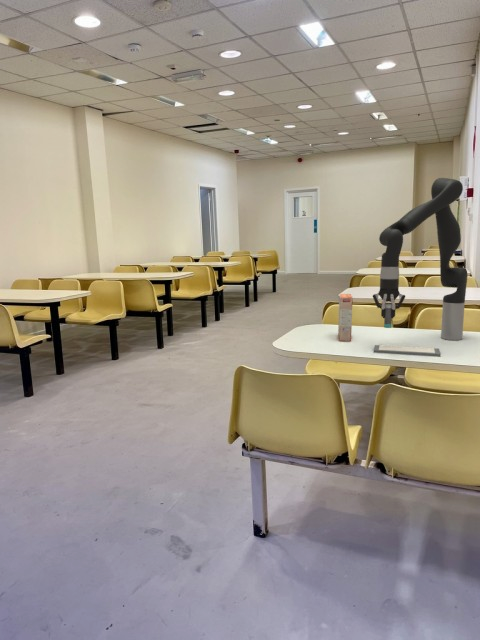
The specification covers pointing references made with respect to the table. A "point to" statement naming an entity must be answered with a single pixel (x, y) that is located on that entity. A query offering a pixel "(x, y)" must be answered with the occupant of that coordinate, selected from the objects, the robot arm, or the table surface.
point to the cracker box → (345, 317)
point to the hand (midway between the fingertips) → (388, 317)
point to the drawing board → (407, 350)
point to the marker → (388, 316)
